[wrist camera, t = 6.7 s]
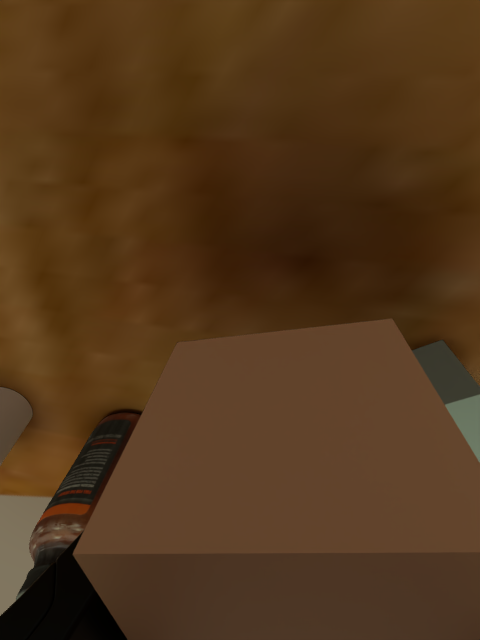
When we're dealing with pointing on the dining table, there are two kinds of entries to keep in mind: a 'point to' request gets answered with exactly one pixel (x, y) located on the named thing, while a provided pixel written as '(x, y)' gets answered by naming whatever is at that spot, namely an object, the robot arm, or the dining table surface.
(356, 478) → the terracotta block
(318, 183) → the dining table surface
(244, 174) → the dining table surface
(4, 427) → the smoothie
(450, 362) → the slate block
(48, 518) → the supplement bottle
